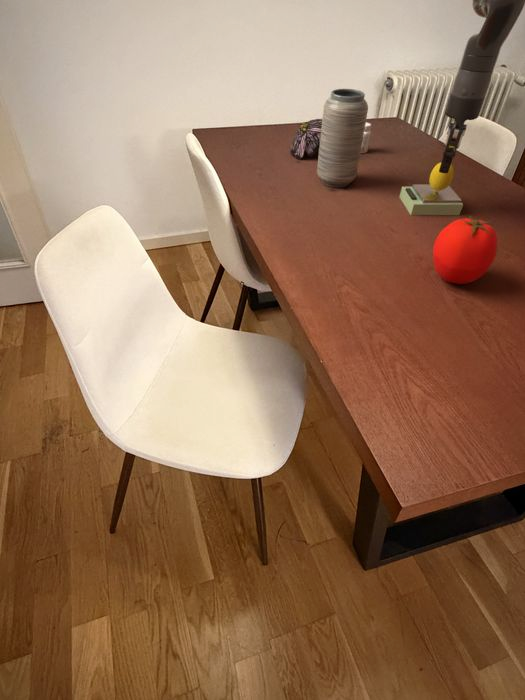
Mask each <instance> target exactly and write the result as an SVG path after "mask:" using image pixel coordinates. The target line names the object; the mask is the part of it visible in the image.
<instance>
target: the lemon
mask: <svg viewBox="0 0 525 700" xmlns="http://www.w3.org/2000/svg"><path fill="white" fill-rule="evenodd" d="M441 162H442V161H441ZM441 162H438V163H437V164H436V165H435V166H434V167H433V169H432V170H431V173H430V175H429V181H428V182H429V184H430V186H431V187H432V188H433V189H434V190H435V192H439V191H440V190H444V189H446V188H447V187H448V186H451V183H452V181H453V178H454V172H455V169H454V166H453V165H452V164H451V165H450V168H449V171H448V173H440V172H439V169H440V166H441Z"/></svg>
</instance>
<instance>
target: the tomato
mask: <svg viewBox="0 0 525 700" xmlns="http://www.w3.org/2000/svg"><path fill="white" fill-rule="evenodd" d="M468 217H469V218H459V219H456V220H454V221H452V222H451V223H449V224H448V225H447V226H446V227H444V228H443V229H441V231H440V232H439V234H438V235H437V237H436V239H435V241H434V245H433V248H432V249H433V250H432V253H433V254H432V256H433V266H434V270H435V271H436V273H437V274H438V276H440V278H441V279H442V280H443V281H445V282H447V283H453V284H458V285H466V284H468V283H472V282H475V281H476V280H478V279H480V278H481V277H482V276H484V275H485V274H486V272H487V271H488V270H489V269H490V267H491V266H492V264H493V263H494V261H495V258H496V256H497V249H498V236H497V233H496V231H495V229H494V228H493V227H492V226H491V225H489V224H487V223H490V222H491V221H490V220H489V221H485V220H482V219H474V218H473V217H472V216H471V215H468Z"/></svg>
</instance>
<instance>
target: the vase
mask: <svg viewBox="0 0 525 700" xmlns="http://www.w3.org/2000/svg"><path fill="white" fill-rule="evenodd" d="M365 95H366V94H365V92H364V91H362V90H358V89H353V88H337V89H333V90H332V91H331V92H330V96H329V97H328V98H327V99H326V100H325V102H324V105H323V109H322V110H323V111H322V118H321V119H322V128H321V137H320V146H319V149H318V158H317V167H316V174H317V176H318V179H319V180H320V182H321V184H323V185H324V186H326V187H330V188H345V187H347V186H349V185H350V183H352V182H353V181H354V180H355V178H356V177H357V174H358V167H359V162H360V156H361V153H360V152H361V146H362V140H363V135H364V129H365V124H366V123H367V117H368V112H369V105H368V102H367V101H366V99H365V98H366V97H365Z"/></svg>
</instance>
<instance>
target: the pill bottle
mask: <svg viewBox="0 0 525 700" xmlns="http://www.w3.org/2000/svg"><path fill="white" fill-rule="evenodd" d="M371 129H372V123H370V122H366V124H365V129H364V135H363V140H362V146H361V152H360V154H365V153H368V150H369V146H370V140H371V134H372V131H371Z"/></svg>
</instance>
